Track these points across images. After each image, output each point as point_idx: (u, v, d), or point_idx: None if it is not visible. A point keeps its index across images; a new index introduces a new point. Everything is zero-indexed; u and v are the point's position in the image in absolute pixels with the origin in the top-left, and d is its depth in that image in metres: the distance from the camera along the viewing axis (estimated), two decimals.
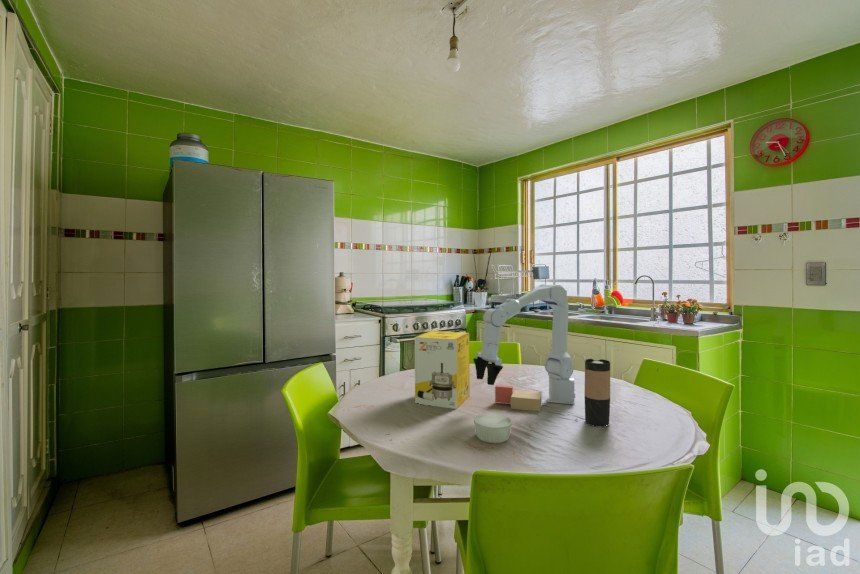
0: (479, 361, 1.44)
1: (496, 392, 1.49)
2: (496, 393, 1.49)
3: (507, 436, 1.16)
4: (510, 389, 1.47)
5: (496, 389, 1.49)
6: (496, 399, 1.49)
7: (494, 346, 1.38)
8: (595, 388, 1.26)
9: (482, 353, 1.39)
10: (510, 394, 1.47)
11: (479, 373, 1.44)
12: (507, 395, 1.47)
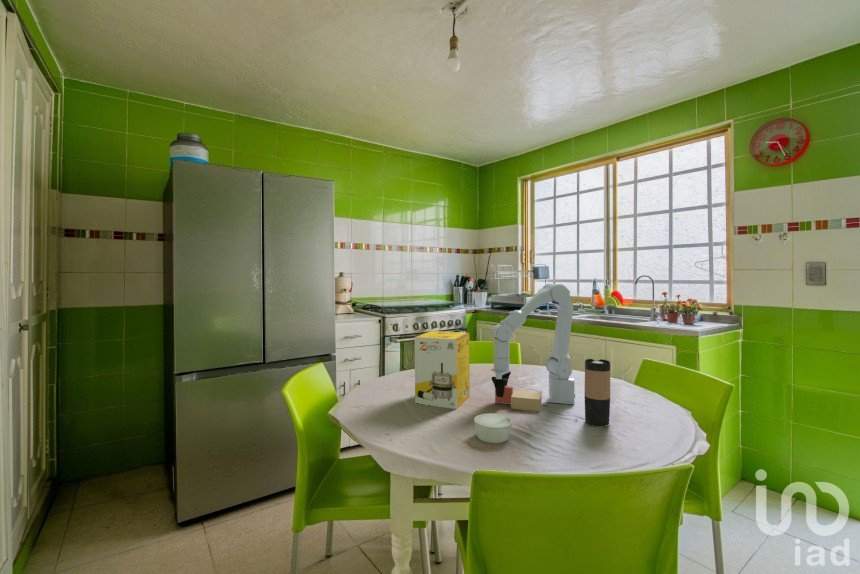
0: None
1: None
2: None
3: (507, 436, 1.16)
4: (510, 389, 1.47)
5: None
6: (496, 399, 1.49)
7: (500, 360, 1.46)
8: (595, 388, 1.26)
9: None
10: (510, 394, 1.47)
11: None
12: (507, 395, 1.47)
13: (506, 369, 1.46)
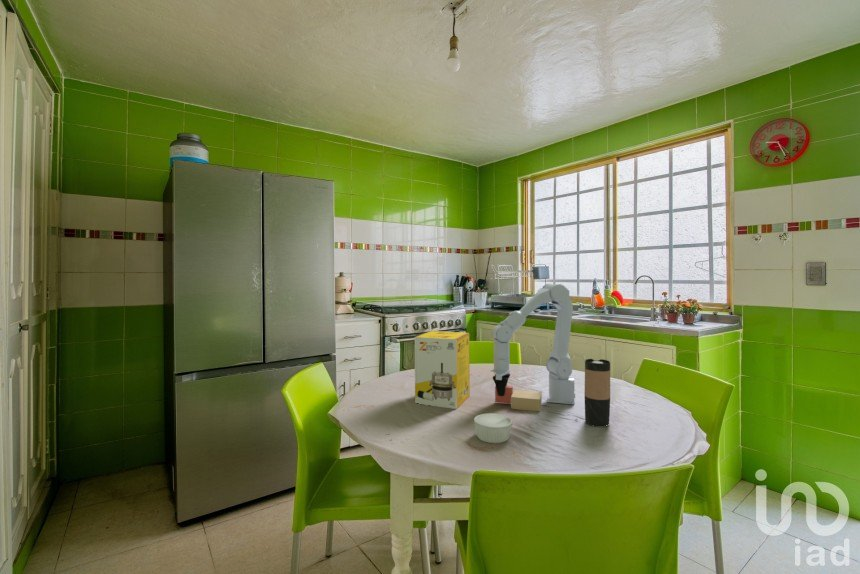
0: None
1: (496, 392, 1.49)
2: (496, 393, 1.49)
3: (507, 436, 1.16)
4: (510, 389, 1.47)
5: (496, 389, 1.49)
6: (496, 399, 1.49)
7: (500, 361, 1.46)
8: (595, 388, 1.26)
9: None
10: (510, 394, 1.47)
11: None
12: (507, 395, 1.47)
13: (506, 370, 1.46)
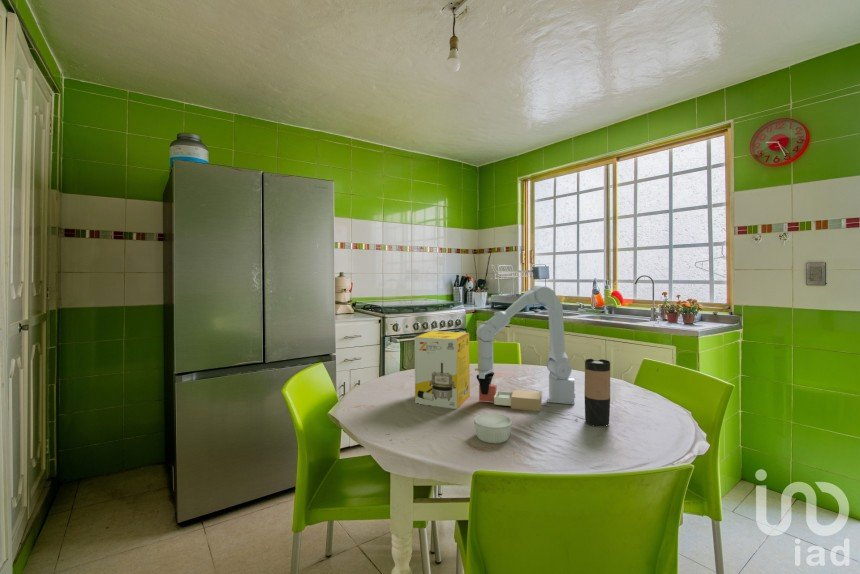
0: None
1: (480, 391, 1.50)
2: (480, 392, 1.50)
3: (507, 436, 1.16)
4: (494, 388, 1.49)
5: (480, 388, 1.50)
6: (480, 398, 1.51)
7: (484, 360, 1.48)
8: (595, 388, 1.26)
9: None
10: (493, 393, 1.49)
11: None
12: (491, 393, 1.49)
13: (490, 369, 1.48)
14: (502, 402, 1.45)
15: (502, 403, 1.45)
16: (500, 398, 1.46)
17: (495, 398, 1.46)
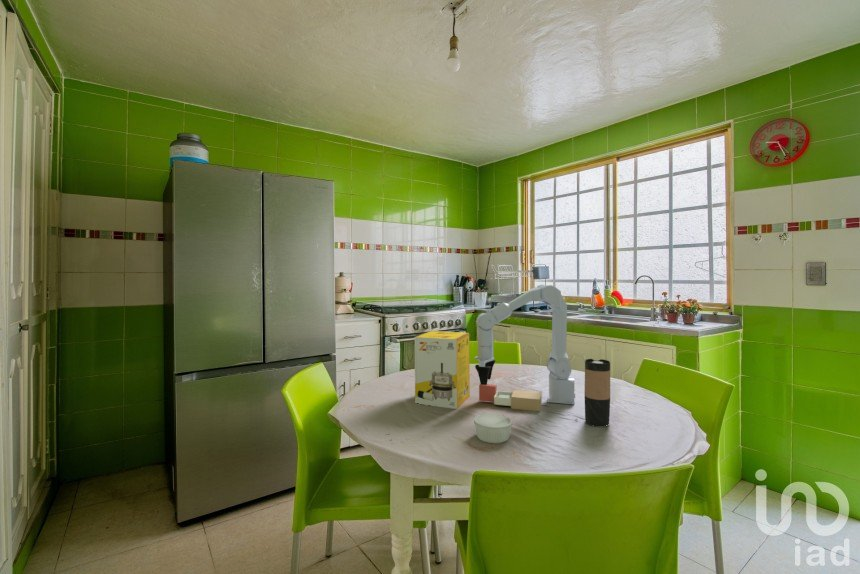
0: None
1: (480, 391, 1.50)
2: (480, 392, 1.50)
3: (507, 436, 1.16)
4: (494, 388, 1.49)
5: (480, 388, 1.50)
6: (480, 398, 1.51)
7: (484, 349, 1.48)
8: (595, 388, 1.26)
9: None
10: (493, 393, 1.49)
11: None
12: (491, 393, 1.49)
13: (490, 357, 1.48)
14: (502, 402, 1.45)
15: (502, 403, 1.45)
16: (500, 398, 1.46)
17: (495, 398, 1.46)
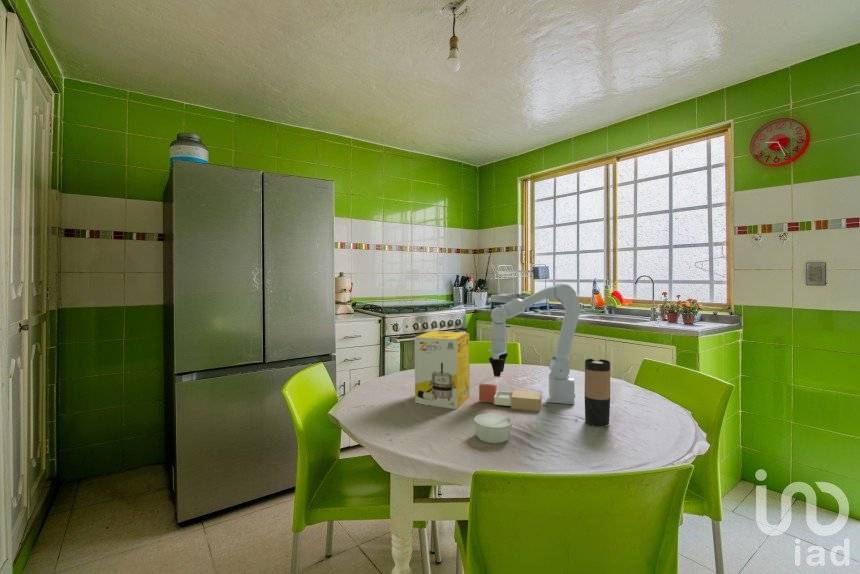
0: None
1: (480, 391, 1.50)
2: (480, 392, 1.50)
3: (507, 436, 1.16)
4: (494, 388, 1.49)
5: (480, 388, 1.50)
6: (480, 398, 1.51)
7: (497, 342, 1.52)
8: (595, 388, 1.26)
9: (491, 348, 1.55)
10: (493, 393, 1.49)
11: None
12: (491, 393, 1.49)
13: (503, 350, 1.52)
14: (502, 402, 1.45)
15: (502, 403, 1.45)
16: (500, 398, 1.46)
17: (495, 398, 1.46)
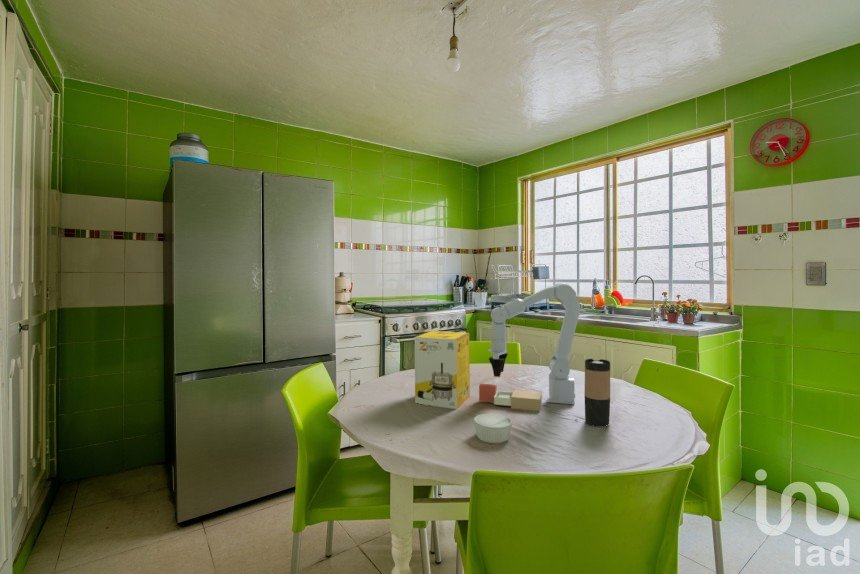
0: None
1: (480, 391, 1.50)
2: (480, 392, 1.50)
3: (507, 436, 1.16)
4: (494, 388, 1.49)
5: (480, 388, 1.50)
6: (480, 398, 1.51)
7: (497, 342, 1.52)
8: (595, 388, 1.26)
9: (491, 348, 1.55)
10: (493, 393, 1.49)
11: None
12: (491, 393, 1.49)
13: (503, 350, 1.52)
14: (502, 402, 1.45)
15: (502, 403, 1.45)
16: (500, 398, 1.46)
17: (495, 398, 1.46)
